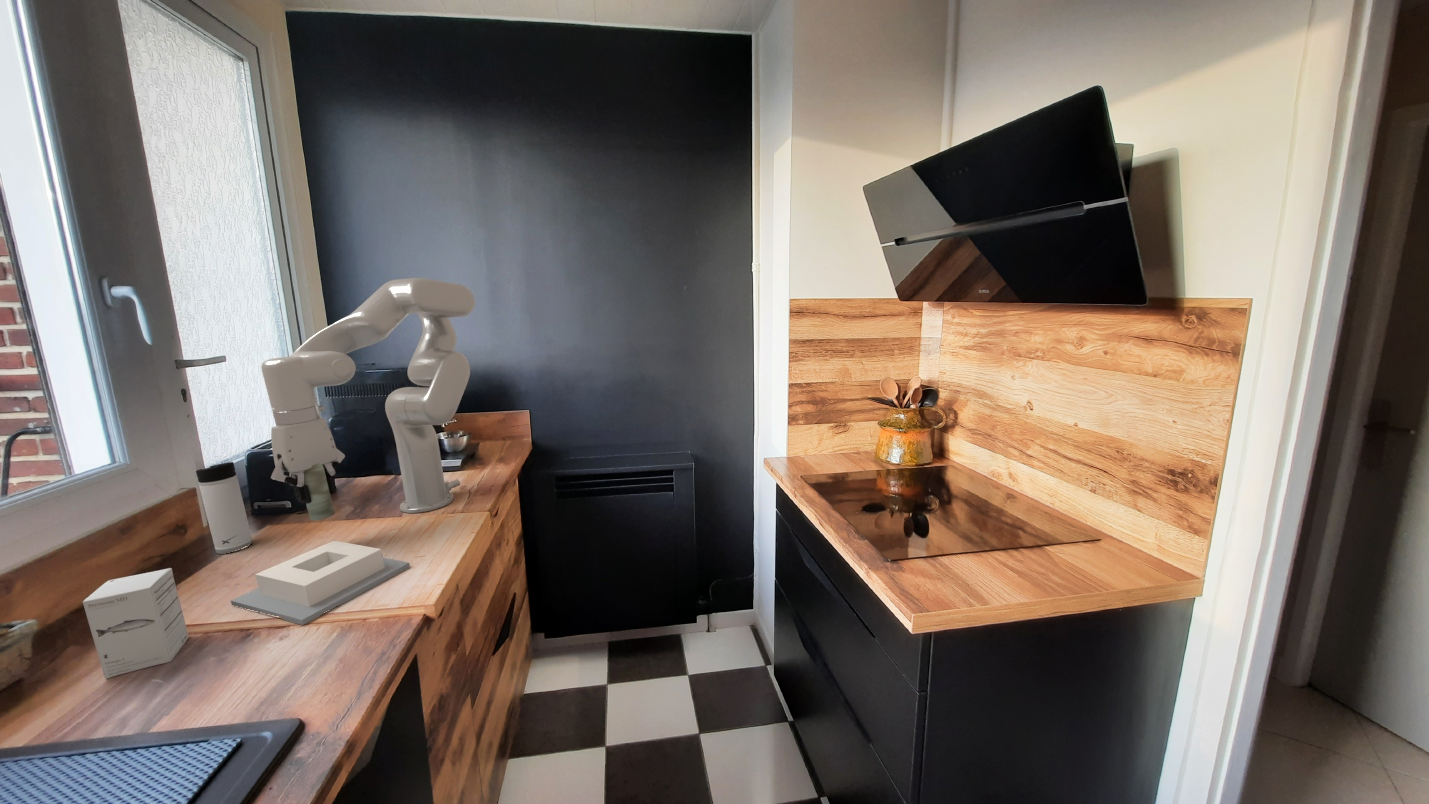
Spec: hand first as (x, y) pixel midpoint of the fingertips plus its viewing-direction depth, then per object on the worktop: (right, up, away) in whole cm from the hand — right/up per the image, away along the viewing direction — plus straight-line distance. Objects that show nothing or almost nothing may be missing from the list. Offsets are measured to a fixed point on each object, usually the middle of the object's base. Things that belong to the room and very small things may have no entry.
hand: (317, 496), depth 113 cm
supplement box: (-1, -19, -32) cm, 38 cm away
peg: (0, -4, +1) cm, 4 cm away
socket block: (+12, -15, -13) cm, 23 cm away
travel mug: (-23, -13, +6) cm, 27 cm away
